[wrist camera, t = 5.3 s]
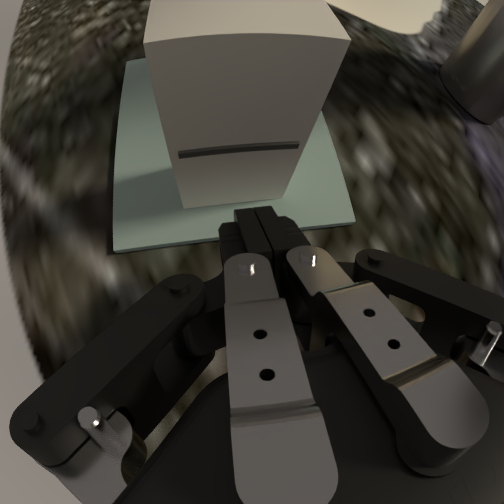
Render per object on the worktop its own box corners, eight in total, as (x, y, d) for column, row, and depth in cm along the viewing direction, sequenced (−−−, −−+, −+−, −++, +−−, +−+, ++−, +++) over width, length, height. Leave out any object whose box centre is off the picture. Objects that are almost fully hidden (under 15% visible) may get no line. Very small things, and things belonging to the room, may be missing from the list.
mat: (295, 53, 24) (296, 48, 23) (352, 224, 19) (355, 221, 19) (128, 66, 22) (126, 61, 21) (116, 253, 18) (113, 250, 17)
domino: (272, 155, 20) (320, -5, 8) (282, 200, 19) (352, 42, 7) (180, 164, 19) (151, -3, 7) (184, 211, 18) (142, 46, 6)
